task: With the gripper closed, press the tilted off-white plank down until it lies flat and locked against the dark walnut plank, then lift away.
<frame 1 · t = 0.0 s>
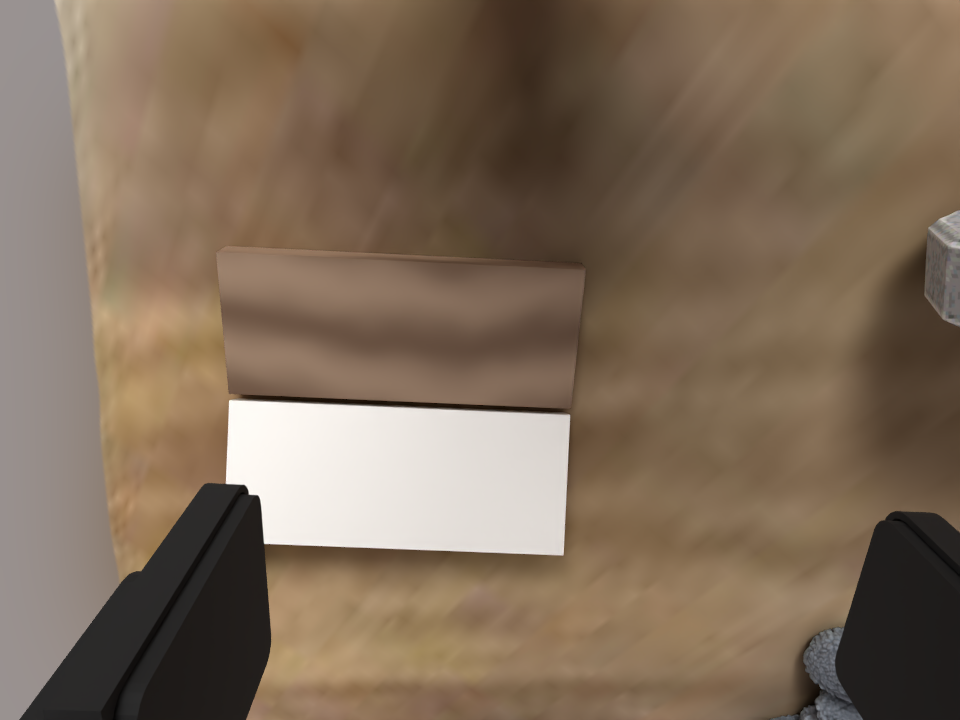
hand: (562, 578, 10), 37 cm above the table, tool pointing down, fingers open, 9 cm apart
walnut plank: (404, 324, 47), on the table
off-white plank: (399, 475, 48), point 3 cm above the table, hinge at 20.0°
koala plush: (856, 703, 61), on the table
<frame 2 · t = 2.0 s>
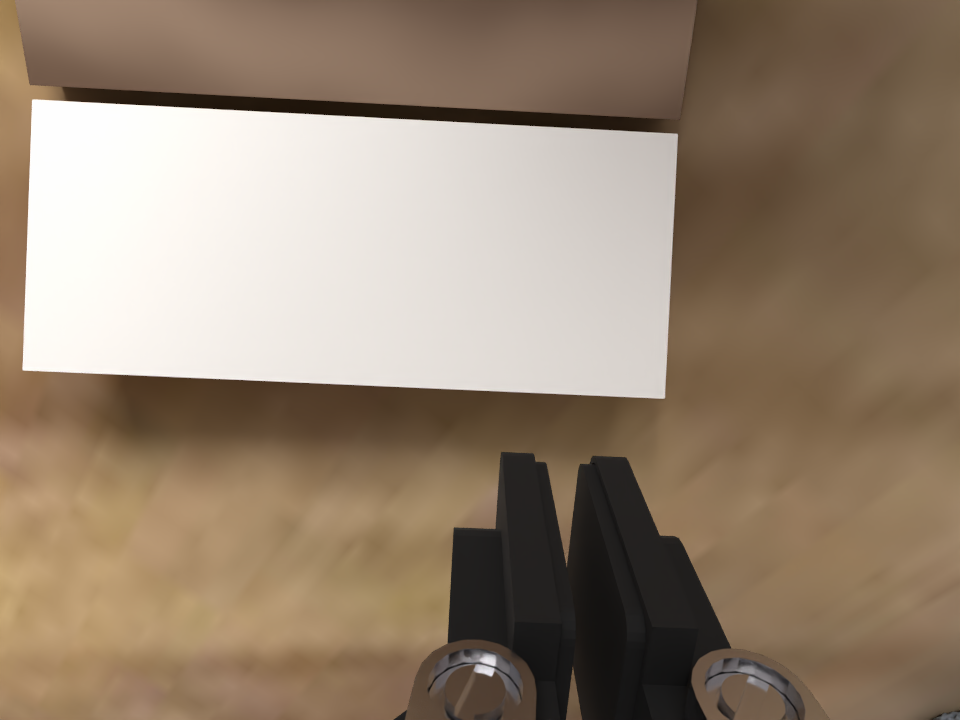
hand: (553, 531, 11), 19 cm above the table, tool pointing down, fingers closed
off-white plank: (357, 254, 26), point 3 cm above the table, hinge at 20.0°
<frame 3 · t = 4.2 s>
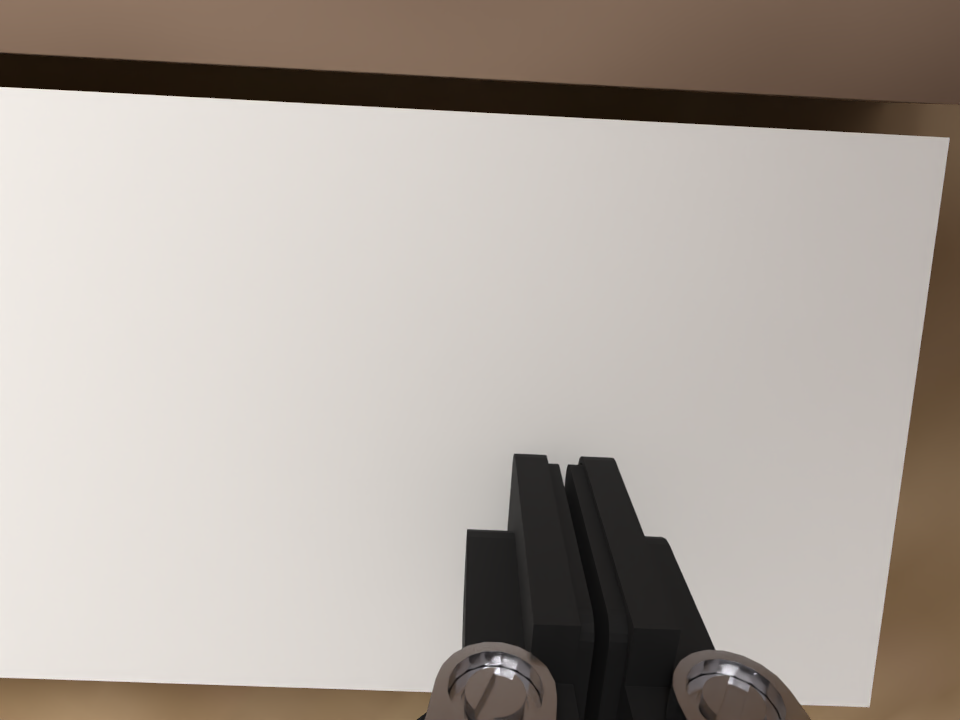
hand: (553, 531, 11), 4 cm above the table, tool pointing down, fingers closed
off-white plank: (222, 397, 12), point 2 cm above the table, hinge at 13.7°, touching gripper
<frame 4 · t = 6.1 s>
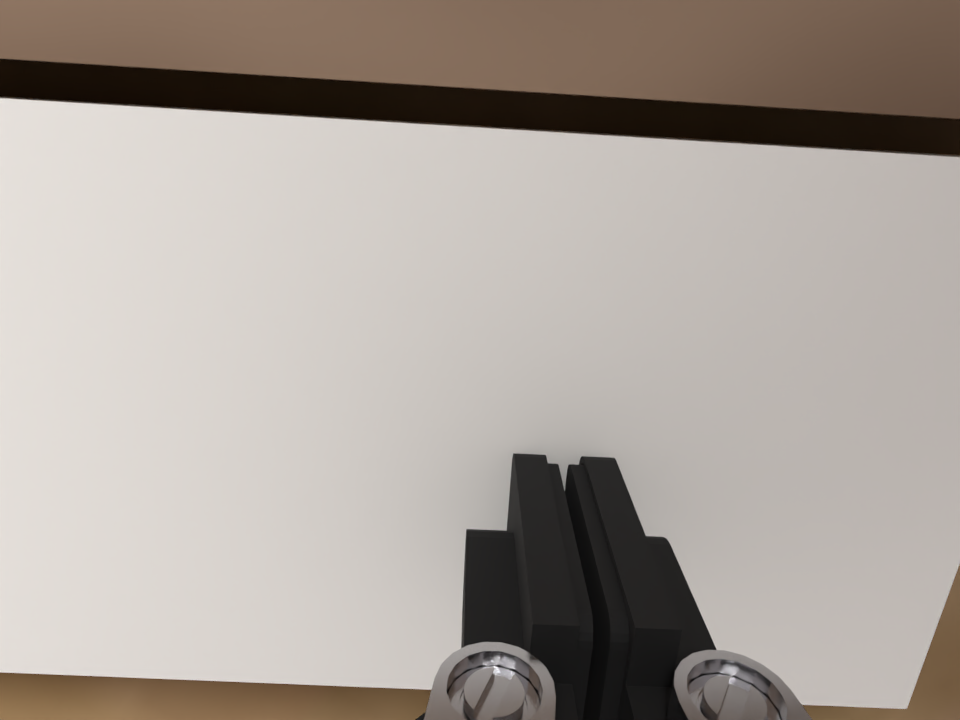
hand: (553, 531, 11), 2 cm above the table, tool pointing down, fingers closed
off-white plank: (277, 417, 12), point 1 cm above the table, hinge at 1.2°, touching gripper
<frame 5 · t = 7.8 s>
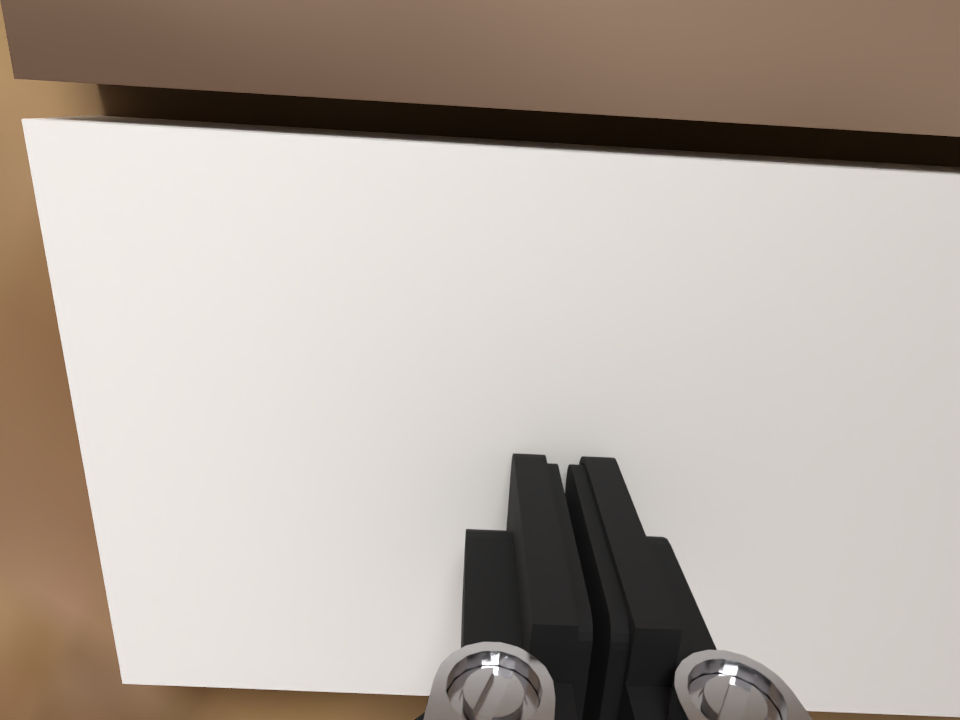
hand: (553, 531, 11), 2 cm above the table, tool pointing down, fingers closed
off-white plank: (790, 454, 12), point 1 cm above the table, hinge at -0.3°
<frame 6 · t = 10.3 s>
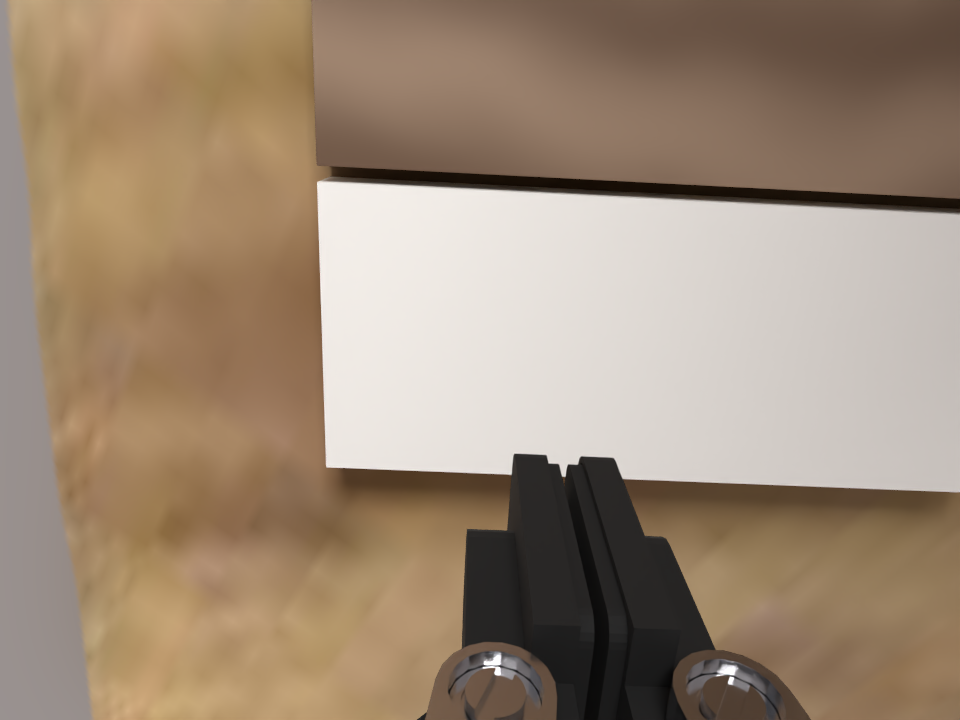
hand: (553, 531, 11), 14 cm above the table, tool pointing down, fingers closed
walnut plank: (708, 15, 21), on the table
off-white plank: (668, 342, 24), point 1 cm above the table, hinge at -0.3°
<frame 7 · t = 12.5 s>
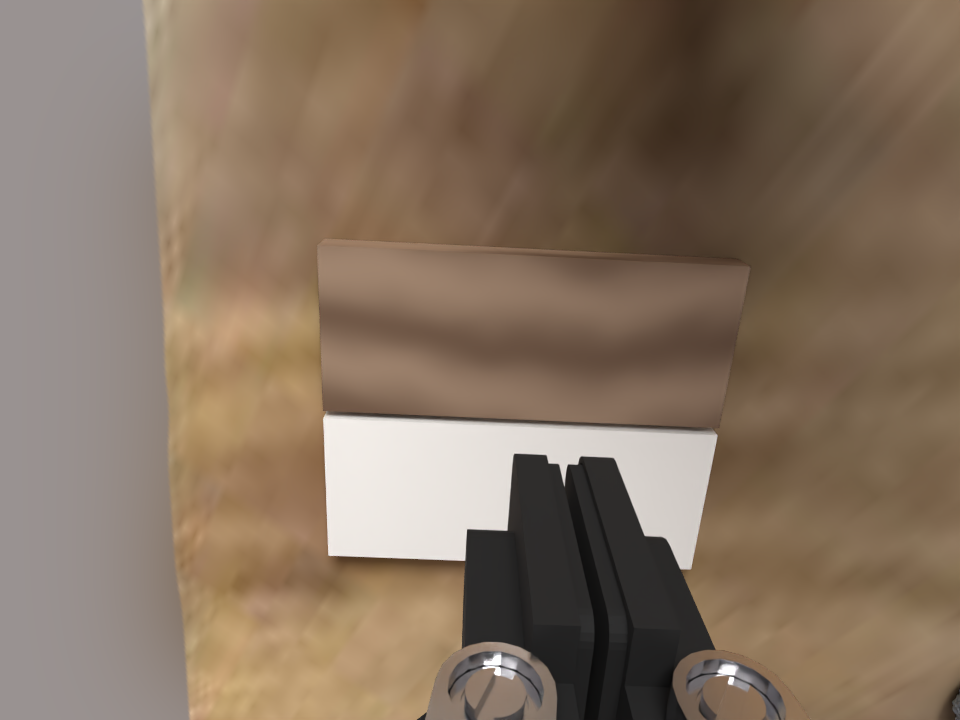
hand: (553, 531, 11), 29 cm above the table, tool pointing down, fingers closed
walnut plank: (526, 330, 41), on the table
off-white plank: (515, 489, 44), point 1 cm above the table, hinge at -0.3°
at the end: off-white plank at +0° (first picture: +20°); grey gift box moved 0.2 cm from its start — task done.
